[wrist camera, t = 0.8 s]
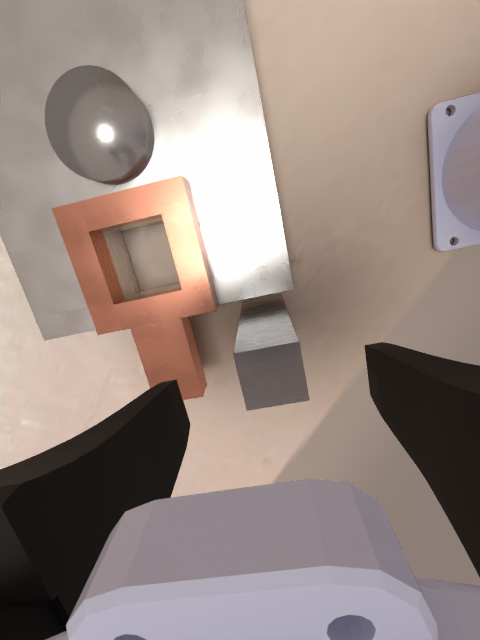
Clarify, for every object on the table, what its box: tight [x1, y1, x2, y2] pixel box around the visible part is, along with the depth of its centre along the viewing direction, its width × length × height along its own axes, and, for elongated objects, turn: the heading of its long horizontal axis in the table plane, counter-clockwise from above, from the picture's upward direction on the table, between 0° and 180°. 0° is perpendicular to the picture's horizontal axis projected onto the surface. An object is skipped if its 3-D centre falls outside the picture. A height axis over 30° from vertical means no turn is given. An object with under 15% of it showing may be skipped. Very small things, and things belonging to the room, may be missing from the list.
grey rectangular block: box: [233, 295, 309, 410], centre depth 16 cm, size 3×3×9 cm
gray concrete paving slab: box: [0, 0, 294, 400], centre depth 17 cm, size 16×25×4 cm, turn 12°
